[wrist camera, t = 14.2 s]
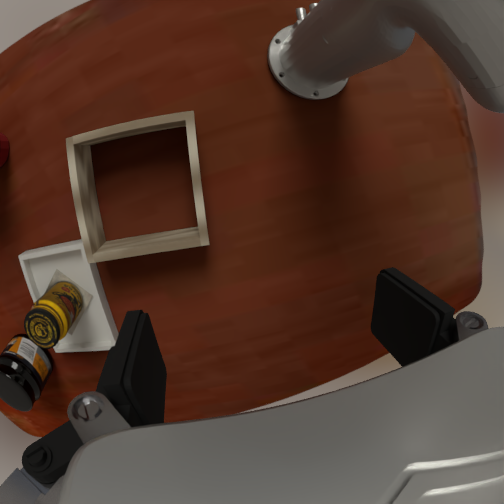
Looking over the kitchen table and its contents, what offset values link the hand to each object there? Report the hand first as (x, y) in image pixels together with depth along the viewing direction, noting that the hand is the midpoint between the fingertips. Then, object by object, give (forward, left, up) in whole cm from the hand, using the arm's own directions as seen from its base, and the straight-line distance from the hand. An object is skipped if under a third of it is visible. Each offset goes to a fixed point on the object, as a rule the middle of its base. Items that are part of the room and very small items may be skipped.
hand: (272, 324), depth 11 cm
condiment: (+11, -27, -29) cm, 41 cm away
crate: (-4, -10, -30) cm, 32 cm away
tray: (+11, -26, -30) cm, 41 cm away
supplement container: (+22, -41, -30) cm, 55 cm away
